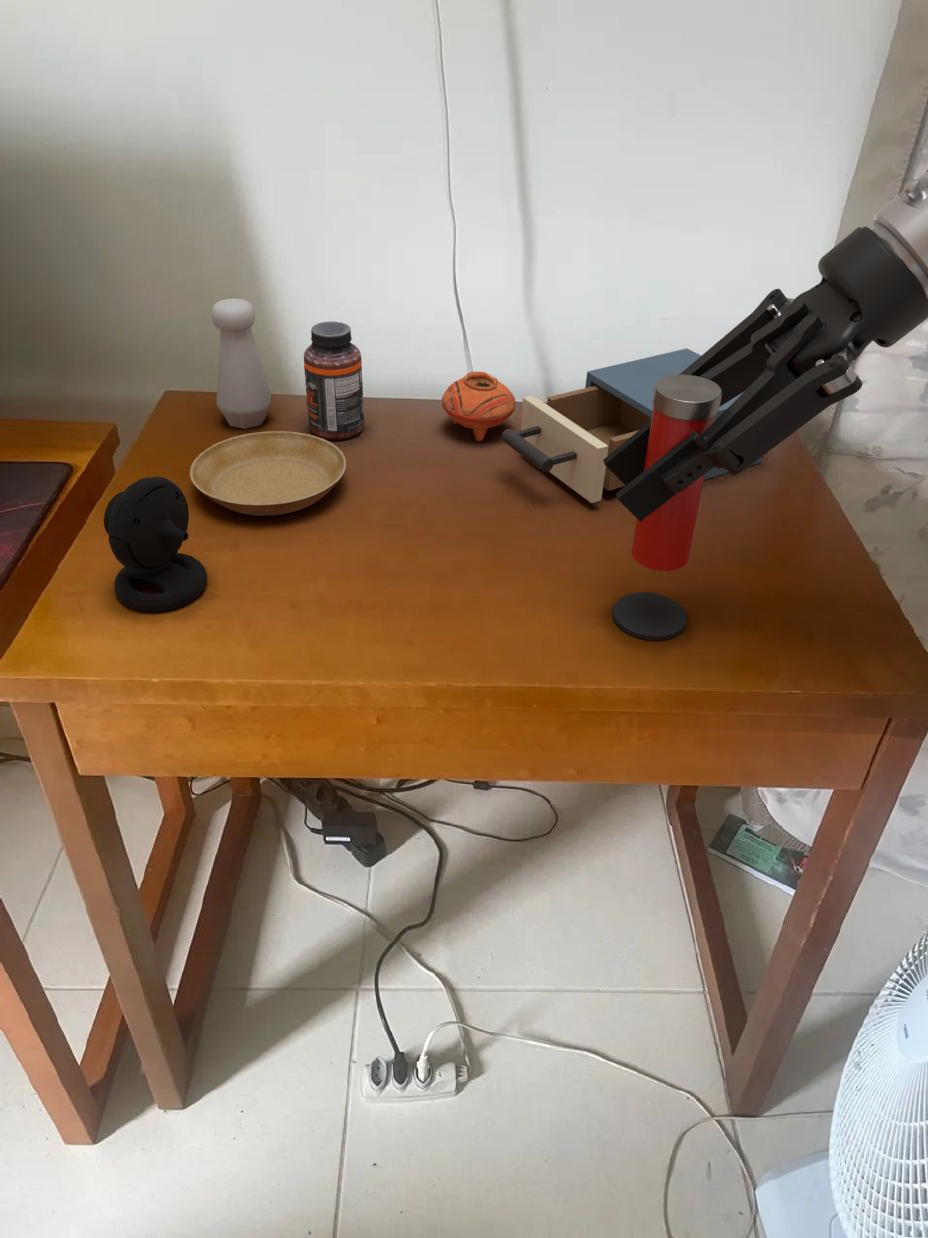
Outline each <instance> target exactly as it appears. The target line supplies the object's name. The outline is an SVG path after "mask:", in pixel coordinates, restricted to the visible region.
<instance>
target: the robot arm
mask: <svg viewBox="0 0 928 1238" xmlns="http://www.w3.org/2000/svg"><path fill="white" fill-rule="evenodd" d="M873 215H874V216H873V222H872V224H873V227H872V229H871V228H869V227H868V226H862V227H861V226H858V227H856V228H855V229H854V230H853V231H851V233H849V234H848V235H847V236H845V238H843V239H842V240H841V241H839V242H838V243H837V244H836V245H835V246H834V247H832V248H831V249H830V250H829V251H828V252H826V253H825V254H824V255H822V257H820V259H819V261H818V262H817V263H818V264H817V268H818V271H819V274H820V276H821V277H822V278H821V281H820V282H819V283H817V284H816V285H814V286H812V287H811V288H810V289H808V290H805V291H803V292H802V293H800V294H799V295H797V296H796V297H795V298H790V297H786V295H785V293H783V291H782V289H780V288H775V289H772V290H771V291H770V292H769V293H768V294H767V295H766V296H765V297H764V299H762V301H761V302H760V303H759V304H758V305H757V307H756V308H755V309H754V310H753V311H752V312H751V313H750V314H749V315H748V316H746V317H745V318H744V319H743V320H742V321H741V322H739V323H738V324H737V325H735V326H734V328H732V329H731V330H730V331H729V332H727V333H726V334H725V335H724V336H723V337H721V338H720V339H719V340H718V341H717V342H716V343H715V344H714V345H712V346H711V347H710V348H708V349H707V350H706V351H705V352H704V353H703V354H701V356H700V357H699V358H698V359H697V360H696V361H695V362H693V363H692V364H691V365H690V366H689V367H687V368H686V369H685V370H684V371H683V372H682V373H680V374H679V375H692V376H698V377H702V378H706V379H708V380H711V381H713V382H715V383H716V384H717V385H719V386H720V388H721V390H722V396H721V401H720V406H722V405H724V404H725V403H727V402H728V401H730V400H731V399H733V398H735V397H736V396H738V395H739V394H741V393H742V394H741V395H740V396H739V397H738V398H737V399H736V400H735V401H734V402H733V403H732V404H731V405H730V406H729V407H728V408H727V409H726V410H725V411H724V412H723V413H722V414H721V415H720V416H719V417H718V418H717V419H716V420H715V421H714V422H713V423H712V424H711V425H710V426H709V427H708V428H707V429H706V430H705V431H704V432H703V433H702V434H701V435H699V434H698V433H697V432H695V431H694V430H692V431H691V433H690V435H689V436H688V437H686V438H685V439H684V440H683V441H681V442H680V443H679V444H678V445H676V446H675V447H674V448H673V449H671V450H670V451H669V452H668V453H666V454H665V455H664V456H663V457H661V458H660V459H659V460H658V461H656V462H655V463H654V464H653V465H651V466H650V467H649V468H648V469H646V470H645V471H644V467H645V460H646V453H647V447H648V440H649V433H650V427H651V421H649V422H648V423H647V424H646V425H645V426H643V427H642V428H641V429H640V430H639V431H637V432H636V433H635V434H634V435H633V436H631V437H630V438H629V439H628V440H626V441H625V442H624V443H623V444H622V445H620V446H619V447H618V448H617V449H616V450H614V451H613V452H612V453H611V454H609V455H608V456H607V457H606V458H605V459H603V462H604V464H605V465H606V466H607V467H608V469H609V470H610V471H611V472H612V473H613V474H614V475H615V476H616V477H617V478H618V479H619V480H620V481H621V482H622V483H623V484H624V485H625V486H623V487H622V488H621V489H620V490H619V491H618V492H616V493H615V496H616V499H617V501H619V502H620V504H621V505H623V506H624V508H626V509H627V511H629V512H630V514H632V515H633V516H634V517H635V518H636V520H637V519H638V520H639V521H640V522H641V521H642V520H644V519H645V518H646V517H647V516H649V515H650V514H651V513H653V512H654V511H655V510H656V509H658V508H659V507H660V506H662V505H663V504H664V503H665V502H667V501H668V500H669V499H671V498H672V497H673V496H674V495H676V494H678V493H680V492H682V491H683V490H685V489H686V488H687V487H688V486H689V485H691V484H692V483H693V482H695V481H696V480H697V479H699V478H700V477H701V476H703V475H704V474H705V473H706V472H708V471H709V470H710V469H712V468H714V467H716V468H721V467H722V468H724V469H726V470H728V471H729V474H730V475H732V476H736V475H739V474H740V473H742V472H743V471H745V470H746V469H747V468H748V467H751V466H752V465H751V464H752V463H754V462H755V461H756V460H758V459H759V458H760V457H762V456H763V457H764V456H765V455H766V454H767V453H768V452H770V451H771V450H773V449H774V448H776V447H777V446H778V445H780V443H782V442H784V440H786V439H787V438H788V437H790V436H791V435H792V434H794V433H795V432H797V431H798V430H799V429H801V428H802V427H803V426H805V425H806V424H807V423H808V422H810V421H811V420H813V419H814V418H815V417H817V416H818V415H819V414H821V413H822V412H824V411H825V410H826V409H827V408H829V407H830V406H832V405H834V404H836V403H838V402H840V401H842V400H844V399H846V398H849V397H850V396H852V395H854V394H856V393H858V392H859V391H860V390H861V388H862V387H863V385H864V384H863V381H862V380H861V378H860V377H859V375H858V374H857V373H856V371H855V364H854V362H855V361H856V360H857V359H858V358H859V357H860V356H861V355H862V353H863V352H864V351H865V350H866V348H867V347H868V346H870V344H872V342H873V343H875V344H876V345H878V346H879V347H881V348H887V349H888V348H891V347H892V346H893V345H895V344H897V342H899V341H900V340H902V339H903V338H904V337H906V335H908V334H910V333H911V332H912V331H914V330H915V329H916V328H917V327H919V326H920V325H921V324H922V323H924V322H925V321H926V320H928V169H927V170H926V171H925V172H924V173H923V174H922V175H920V176H919V177H917V179H915V178H912V179H909V181H908V182H906V183H905V185H904V186H903V190H902V191H901V192H900V193H898V195H896V196H895V197H894V198H892V199H891V200H890V201H889V202H887V204H885V205H884V206H883V207H882V208H881V209H879V210H878V211H876V213H874V214H873ZM720 406H719V407H720ZM738 453H739V454H738ZM750 465H751V466H750Z"/></svg>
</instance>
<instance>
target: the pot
mask: <svg viewBox="0 0 928 1238" xmlns="http://www.w3.org/2000/svg"><path fill="white" fill-rule="evenodd" d="M516 404H517V403H516V398H515V396H514V394H513V393H512V391H511V390H510V389H509V387H507V386H506V385H505V384H504V383H502V382H501V381H499V380H498V378H496V377H495V376H493V375H491V374H489V373H488V372H485V371H471V372H467V373H466V374H465V375H464V376H463V377H460V378H459V379H457V380H455V381H454V382H453V383H451V384H450V385H449V386H448V387H447V388H446V389H445V391H444V392H443V394H442V398H441V406H442V408H443V410H444V411H445V413H446V414H447V415H448V416H449V417H450V418H451V421H452V423H453V424H454V425H456V424H458V425H460V426H462V427H464V428H468V429H473V430H472V432H473V435H474V438H475V441H476V442H480V441H483V439H484V438H485V436H486V432H487V431H488V429H491V428H495V427H497V426H502V425H503V423H504V422H505V421H506V420H509V418H510V417H511V416H512V415H513V413H514V412H515V410H516V407H517V406H516Z"/></svg>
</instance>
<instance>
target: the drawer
mask: <svg viewBox="0 0 928 1238" xmlns="http://www.w3.org/2000/svg"><path fill="white" fill-rule="evenodd" d="M651 420H652V418H651V417H649V416H647V415H646V414H644V413H642V412H641V411H639V410H638V409H636V408H634V407H633V406H631V405H629V404H628V403H626V402H624V401H623V400H621V399H619V398H618V397H616V396H615V395H613V394H611V393H610V392H608V391H606V390H605V389H603V388H601V387H600V386H598V385H596V386H592V387H588V388H585V387H584V388H580V389H575V390H572V391H568V392H564V393H563V392H562V393H559V394H554V395H551V396H547V401H546V403H545V401H542V400H541V399H539V398H538V397H536V396H535V395H527V396H524V397H522V409H521V425H520V430H516V431H514V430H513V429H511V428H507V429H504V431H503V432H502V433H501V441H502V442H503V443H504V444H506V445H507V446H508V447H510V448H511V449H513V450H514V451H515V452H516V453H518V454H519V455H521V456H522V457H523V458H524V459H526V460H527V461H528V462H530V463H531V464H532V465H533V466H536V468H538V469H539V470H541V471H542V472H543V473H548V472H549V473H550V474H551V475H553V476H554V477H555V478H557V479H558V480H560V481H561V482H562V483H564V484H565V485H566V486H568V487H569V488H570V489H572V490H573V491H575V492H576V493H577V494H579V495H580V496H581V497H582V498H583V499H585V500H586V501H587V502H589V503H590V504H594V503H597V502H600V501H602V497H603V490H604V489H605V490H606V491H608V492H609V491H612V490H617V489H620V488H624V487H625V485H624V484H623V483H622V482H621V481H620V480H619V479H618V478H617V477H616V476H615V475H614V474H613V473H612V472H611V471H610V470H609V469H608V467H607V466H606V465H605V464H604V462H603V459H605V458H606V457H607V456H608V455H609V454H611V453H612V452H613V451H614V450H616V449H617V448H618V447H619V446H620V445H622V444H623V443H624V442H625V441H626V440H628V439H629V438H630V437H631V436H633V435H634V434H635V433H636V432H637V431H639V430H640V429H641V428H642V427H643V426H645V425H646V424H647V423H648V422H649V421H651Z"/></svg>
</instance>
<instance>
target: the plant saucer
mask: <svg viewBox="0 0 928 1238" xmlns="http://www.w3.org/2000/svg"><path fill="white" fill-rule="evenodd" d="M346 467H347V461H346V457H345V455H344V453H343V451H342V450H341V449H340V448H339V447H338V446H337V445H335V444H334V443H332V442H330V441H329V440H327V439H325V438H321V437H319V436H317V435H312V434H308V433H303V432H298V431H283V430H279V431H277V430H274V431H273V430H271V431H259V432H251V433H245V434H244V433H243V434H241V435H236V436H233V437H230V438H226V439H224V440H222V441H219V442H217V443H214V444H212V445H211V446H209V447H208V448H206V449H204V450H203V451H202V452H200V453H199V455H197V456H196V458H195V459H194V460H193V462H192V464H191V466H190V469H189V477H190V480H191V482H192V484H193V485H194V486H195V487H196V488H197V489H198V490H199V491H200V492H201V493H202V494H203V495H204V496H206V497H207V498H208V499H209V500H211V501H213V502H214V503H217V504H218V505H220V506H222V507H224V508H226V509H228V510H230V511H232V512H236V513H239V514H241V515H242V514H243V515H248V516H258V517H270V516H271V517H272V516H281V515H286V514H289V513H290V514H291V513H294V512H297V511H300V510H303V509H306V508H308V507H310V506H312V505H314V504H315V503H317V502H318V501H320V500H321V499H323V498H324V497H325V496H326V495H327V494H329V492H330V491H331V490H332V489H334V487H335V486H336V485H337V484H338V483H339V481H340V480H341V478H342V477H343V476H344V474H345V471H346Z"/></svg>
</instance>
